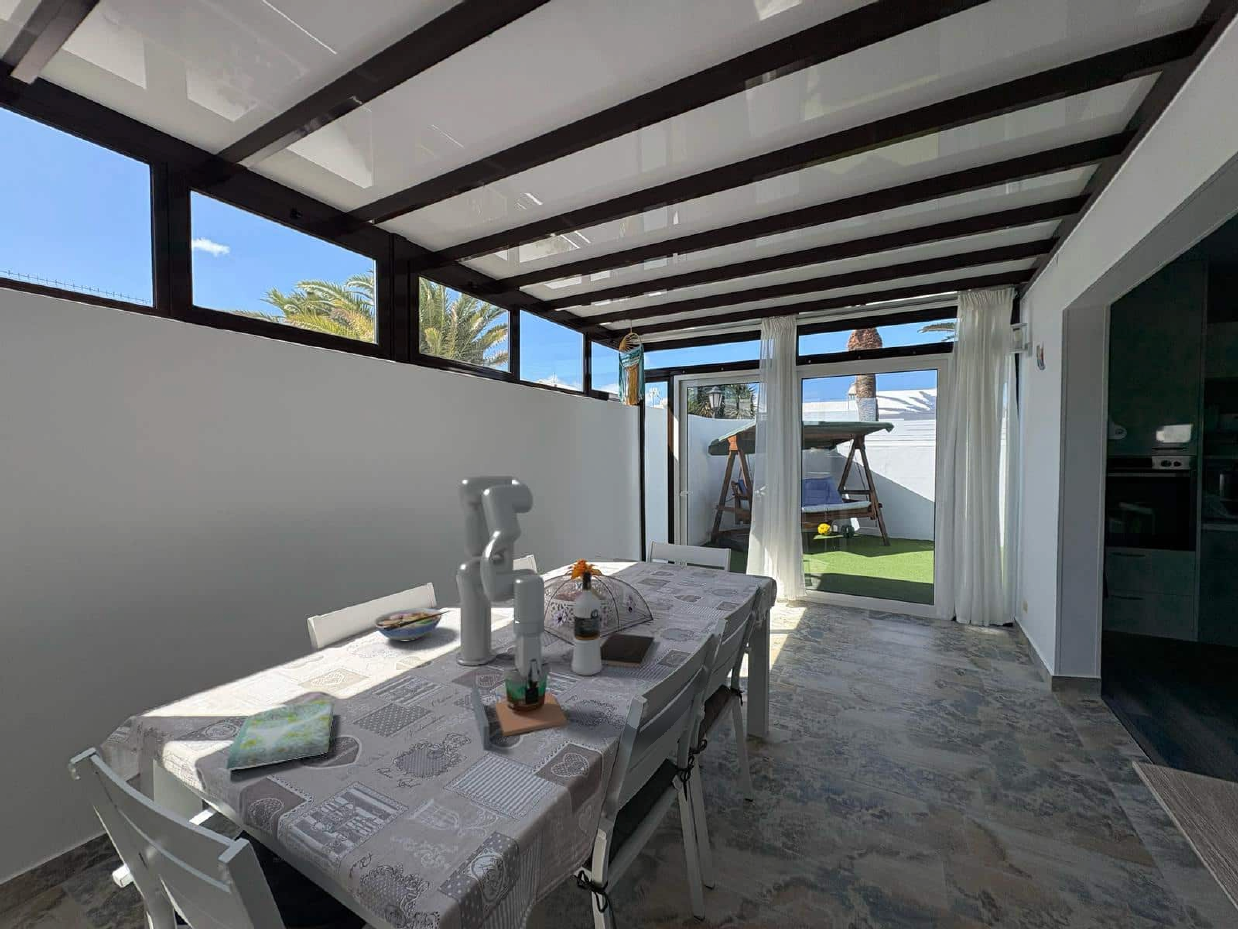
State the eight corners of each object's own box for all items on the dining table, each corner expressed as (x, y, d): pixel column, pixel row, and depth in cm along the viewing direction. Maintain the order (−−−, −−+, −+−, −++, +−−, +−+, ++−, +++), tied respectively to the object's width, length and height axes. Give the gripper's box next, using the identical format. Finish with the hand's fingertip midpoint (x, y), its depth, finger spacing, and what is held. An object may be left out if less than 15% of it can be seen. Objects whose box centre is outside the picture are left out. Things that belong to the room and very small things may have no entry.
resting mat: (494, 706, 131) (494, 703, 131) (550, 696, 137) (550, 692, 137) (504, 736, 117) (504, 732, 117) (566, 723, 123) (566, 719, 123)
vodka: (592, 661, 161) (592, 567, 160) (607, 671, 153) (608, 572, 152) (566, 668, 155) (566, 570, 155) (580, 679, 148) (580, 576, 147)
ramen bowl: (421, 622, 198) (421, 601, 198) (458, 634, 185) (458, 612, 185) (357, 641, 178) (357, 618, 178) (393, 656, 164) (393, 631, 164)
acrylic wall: (472, 704, 133) (472, 685, 133) (477, 703, 133) (477, 684, 133) (483, 749, 112) (483, 726, 112) (489, 748, 113) (489, 725, 113)
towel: (335, 713, 129) (335, 693, 129) (328, 758, 110) (328, 734, 110) (248, 730, 121) (247, 708, 121) (224, 781, 102) (224, 756, 102)
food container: (508, 718, 121) (508, 677, 121) (501, 707, 127) (501, 667, 127) (557, 707, 127) (557, 667, 127) (548, 697, 132) (549, 659, 132)
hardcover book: (654, 643, 178) (654, 637, 178) (640, 670, 155) (640, 662, 155) (610, 639, 182) (610, 633, 182) (590, 664, 159) (590, 657, 159)
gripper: (507, 617, 133) (507, 686, 134) (521, 639, 118) (521, 717, 118) (536, 614, 136) (536, 681, 137) (552, 635, 121) (552, 710, 121)
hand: (529, 697), depth 127 cm, fingers closed on food container, 5 cm apart
